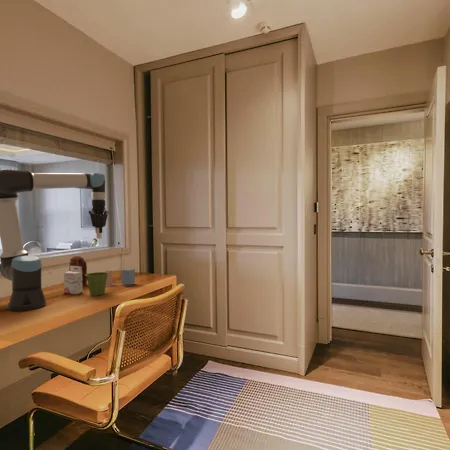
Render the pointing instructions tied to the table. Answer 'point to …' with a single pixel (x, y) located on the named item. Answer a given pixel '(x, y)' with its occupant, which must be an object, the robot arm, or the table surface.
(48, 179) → the robot arm
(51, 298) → the table surface
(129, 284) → the post
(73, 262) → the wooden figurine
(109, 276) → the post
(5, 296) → the table surface
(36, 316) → the table surface
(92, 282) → the plant pot
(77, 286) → the ink cartridge box
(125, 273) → the grey upright block
